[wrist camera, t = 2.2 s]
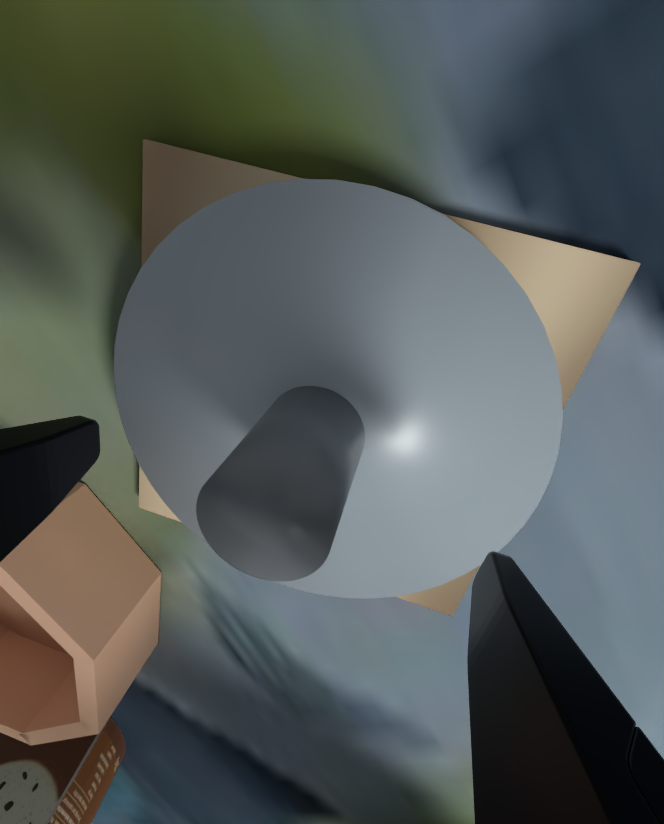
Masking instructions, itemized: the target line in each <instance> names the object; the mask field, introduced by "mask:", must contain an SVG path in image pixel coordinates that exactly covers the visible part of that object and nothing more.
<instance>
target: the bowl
mask: <svg viewBox="0 0 664 824" xmlns="http://www.w3.org/2000/svg"><path fill="white" fill-rule="evenodd" d="M160 591H161V572H160V570H159V569H158V568H157V567H156V566H155V565H154V563H153V562H152V561H151V560H150V559H149V558H148V557H147V555H146V554H145V553H144V552H143V551H142V550H141V548H140V547H139V546H138V545H137V544H136V543H135V541H134V540H133V539H132V538H131V537H130V536H129V534H128V533H127V532H126V531H125V530H124V529H123V528H122V526H121V525H120V524H119V523H118V522H117V521H116V519H115V518H114V517H113V516H112V515H111V514H110V512H109V511H108V510H107V509H106V508H105V507H104V505H103V504H102V503H101V502H100V501H99V500H98V498H97V497H96V496H95V495H94V494H93V493H92V492H91V490H90V489H89V488H88V487H87V486H86V485H85V484H83V483H80V482H78V483H77V484H76V485H75V486H74V488H73V489H72V490H71V491H70V492H69V494H68V495H67V496H66V497H65V498H64V499H63V501H62V502H61V503H60V504H59V505H58V506H57V507H56V508H55V509H54V511H53V512H52V513H51V514H50V515H49V516H48V517H47V518H46V519H45V520H44V521H43V522H42V523H41V524H40V525H39V526H38V527H37V528H35V529H34V530H33V531H32V532H31V533H30V534H29V535H28V536H27V537H26V538H25V539H24V540H23V541H22V542H21V543H20V544H19V545H18V546H17V547H16V548H15V549H14V550H13V551H12V552H11V553H9V554H8V555H7V556H6V557H5V558H4V559H3V560H2V561H1V562H0V732H1V733H3V734H5V735H8V736H10V737H12V738H15V739H17V740H19V741H22V742H24V743H27V744H29V745H31V746H32V745H37V744H43V743H49V742H55V741H61V740H67V739H72V738H78V737H84V736H90V735H96V734H99V733H100V731H101V730H102V728H103V727H104V725H105V724H106V722H107V720H108V719H109V717H110V716H111V714H112V713H113V711H114V710H115V708H116V707H117V705H118V704H119V702H120V701H121V699H122V697H123V696H124V694H125V693H126V691H127V690H128V688H129V687H130V685H131V684H132V682H133V681H134V679H135V677H136V676H137V674H138V673H139V671H140V670H141V668H142V667H143V665H144V664H145V662H146V661H147V659H148V658H149V656H150V654H151V653H152V651H153V650H154V648H155V647H156V645H157V644H158V634H159V612H160Z"/></svg>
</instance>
